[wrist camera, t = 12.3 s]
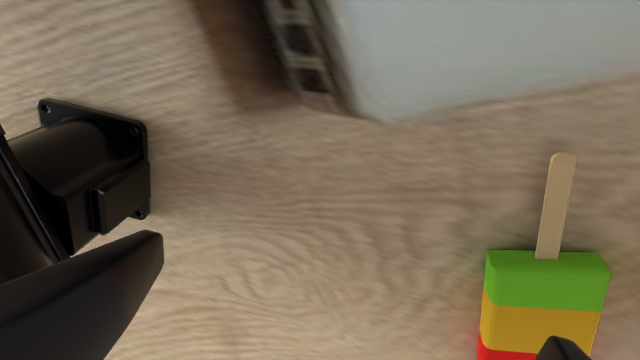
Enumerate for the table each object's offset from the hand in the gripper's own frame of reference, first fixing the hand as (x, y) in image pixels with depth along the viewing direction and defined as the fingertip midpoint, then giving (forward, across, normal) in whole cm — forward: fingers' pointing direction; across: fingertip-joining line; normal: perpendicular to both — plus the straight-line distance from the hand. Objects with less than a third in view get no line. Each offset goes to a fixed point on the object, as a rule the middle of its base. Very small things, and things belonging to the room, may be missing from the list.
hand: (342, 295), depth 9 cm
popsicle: (+12, -10, +6) cm, 17 cm away
